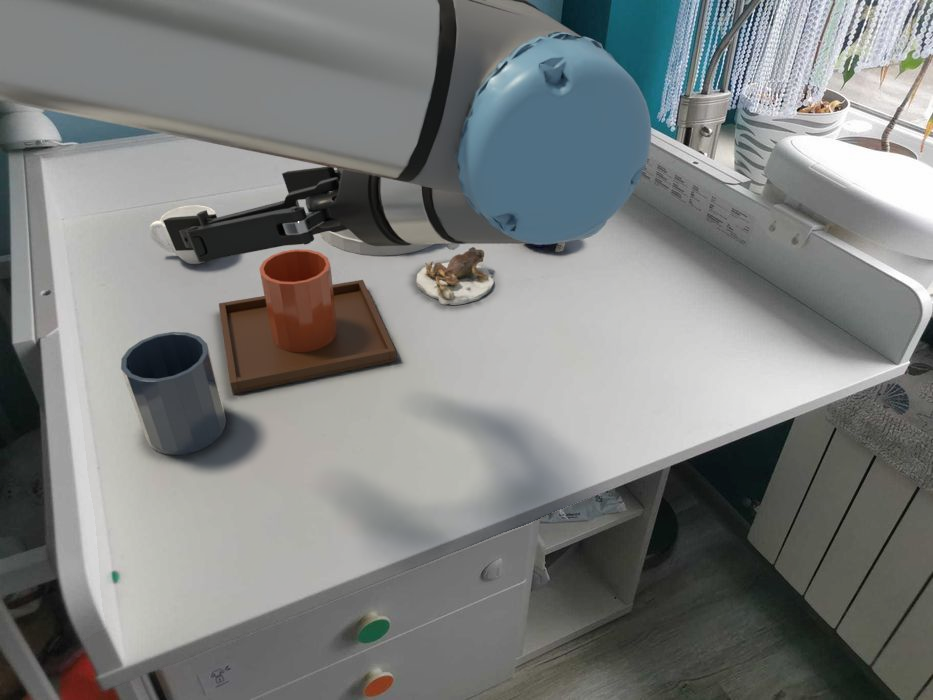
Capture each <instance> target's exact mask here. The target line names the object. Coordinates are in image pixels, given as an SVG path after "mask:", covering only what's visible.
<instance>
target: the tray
mask: <svg viewBox="0 0 933 700" xmlns="http://www.w3.org/2000/svg"><path fill="white" fill-rule="evenodd" d="M332 284H333V283H332ZM333 293H334V302H335V311H336V320H337V335H336V337H335V338H334V340H333V341H332V342H331V343H329V344H328V345H327V346H325V347H323V348H320V349H318V350H315V351H310V352H290V351H286V350H283V349H281V348H279V347H278V346H277V345H276V344H275V343H274V341H273V339H272V334H271V329H270V323H269V318H268V312H267V307H266V301H265V296H264V295H262V296H256V297H250V298H244V299H236V300H231V301H225V302H224V301H223V302H219V303H218V309H219V316H220V323H221V329H222V330H221V331H222V337H223V344H224V351H225V357H226V365H227V370H228V371H227V372H228V378H229V384H230V389H231V393H232V395H236V394H241V393H246V392H250V391H256V390H261V389H266V388H271V387H276V386H281V385H287V384H291V383H296V382H301V381H307V380H311V379H316V378H320V377H325V376H330V375H335V374H341V373H346V372H351V371H356V370H359V369H360V370H361V369H366V368H370V367H374V366H381V365H385V364H390V363H394V362H397V350H396V348H395V346H394V344H393V341H392V339H391V337H390V335H389V332H388V331H387V329H386V327H385V324H384V322H383V320H382V317H381V316H380V314H379V311H378V309H377V306H376V305H375V303H374V301H373V298H372V296H371V294H370V292H369V290H368V288H367V286H366V283H365V281H364V279H359V280H352V281H346V282H339V283H335V284H333Z"/></svg>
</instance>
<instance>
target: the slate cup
mask: <svg viewBox="0 0 933 700" xmlns="http://www.w3.org/2000/svg"><path fill="white" fill-rule="evenodd" d="M120 361H121V362H120V370H121V372H122V376H123V378H124V380H125V384H126V387H127V390H128V392H129V395H130V398H131V401H132V403H133V407H134V410H135V412H136V414H137V418H138V421H139V423H140V426H141V429H142V431H143V434H144V438H145V439H146V440H147V443H148V444H149V445H148V446H150V447H151V448H152V449H153V450H154V451H157V452H158V453H161V454H164V455H171V456H181V455H187V454H193V453H195V452H198V451H200V450H203V449H205V448H207V447H209V446H210V445H212V444H213V443H215V441H216V440H218V439H219V438H220V437H221V435H222V434H223V432H224V430H225V428H226V425H227V419H226V415H225V413H226V412H225V409H224V404H223V401H222V397H221V393H220V389H219V385H218V381H217V377H216V374H215V369H214V366H213V362H212V357H211V354H210V349H209V345H208V343H207V342H206V341H205V340H204V339H203V338H202V337H201V336H199V335H197V334H193V333H191V332H187V331H185V332H183V331H170V332H164V333H157V334H155V335H152V336H148V337H147V338H144V339H141V340H140V341H138V342H137V343H135V344H134V345H132V346H131V347H129V348H128V349H127V350H126V352H125V353H124V355H123V356H122V357H121V360H120Z"/></svg>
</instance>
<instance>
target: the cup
mask: <svg viewBox="0 0 933 700" xmlns="http://www.w3.org/2000/svg"><path fill="white" fill-rule="evenodd" d="M205 210H207V213H208V215H211V214H216V215H217V213H216V211H215V210H214V209H212V208H211V207H209V206H206V205H196V204H195V205H193V204H191V205H184V206H180V207H179V206H178V207H176V208H173V209H171V210H168V211H166V212H165V213H163V214H162V215H161V217H160V219H159V220H154V221H153V222H152V223H151V224H150V225H149V235H150V239H152V241H153V242H154V243H155V244H156V245H157V246H159V247H160V248H162V249H163V250H165V251H167V252H169V253H174V254H175V255H176V256H177V257H178V258H180V259H181V260H182V261H183V262H184V263H186V264H190V265H199V264H204V263H205V262H204V261H203V262H199V261H198V259H197V257H196V254H195V252H194V250H184V251H176V250H175V248H174V245H173V243H172V241H171V238H170V236H169V233H168V231H167V229H166V226H165V224H164V222H163V220H165V219H168V218H171V217H184V216H197V213H199V212H202V211H205ZM157 228H161V230H162V233H163V236H164V238H165V241H164V239H162V238H161V237H160V236H159V234H158V231H157Z"/></svg>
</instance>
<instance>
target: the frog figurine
mask: <svg viewBox="0 0 933 700" xmlns="http://www.w3.org/2000/svg"><path fill="white" fill-rule="evenodd" d="M484 257H485V251H484V250H483V249H477V248H476V247H474V246H473V247H470V248H468V250H467V251H465V252H464V253H462V254H460V253H459V254H455V255H454V256H452V258H451V259H450V261H447V262H442V263H441V262H436V263H434V261H431V262H430V263H429V264H428V263H427V262H426V263H425V266H424V267H422V268H421V269H420V271H419V272H418V273H417V274H416V278H415V279H416V280H415V281H416V282H415V283H416V285H417V288H418V289H419V291H421V292H423V293H424V294H425V295H427V296H429V297H431V298H433V299H436V300H438V303H439V304H441V305H442V306H443V305H444V306H447V305H450V306H460V305H464V304H465V305H466V304H469V303H471V302H476V301H478V300H481V299H482V298H483V297H484V296H487V294H489V293H490V292H491V291H492V288H493V285H494V281H495V280H494V278H492V277H493V275H492V274H491V273H490V270H488V269H487V268H486V267H484V266H481V265H480V264H479V263H483V261H484Z"/></svg>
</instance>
